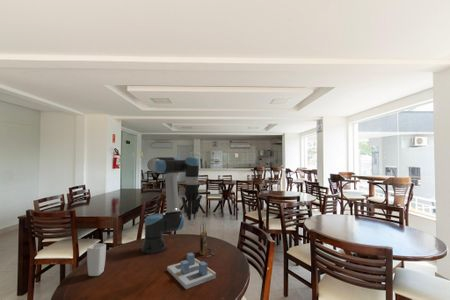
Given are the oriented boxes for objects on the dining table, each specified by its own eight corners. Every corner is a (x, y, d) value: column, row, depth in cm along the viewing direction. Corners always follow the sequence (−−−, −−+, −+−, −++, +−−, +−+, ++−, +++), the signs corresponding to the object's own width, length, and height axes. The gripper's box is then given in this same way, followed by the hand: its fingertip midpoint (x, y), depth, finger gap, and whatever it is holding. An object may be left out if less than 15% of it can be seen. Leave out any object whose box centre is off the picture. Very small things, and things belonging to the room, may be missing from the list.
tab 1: (180, 271, 119) (180, 261, 119) (185, 269, 120) (185, 259, 121) (183, 274, 115) (183, 264, 116) (189, 272, 117) (189, 262, 117)
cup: (84, 277, 116) (85, 248, 117) (94, 270, 124) (94, 243, 124) (98, 278, 116) (99, 248, 117) (106, 271, 123) (107, 243, 124)
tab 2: (186, 262, 129) (186, 253, 129) (191, 261, 130) (191, 252, 131) (189, 265, 125) (189, 256, 126) (194, 263, 127) (194, 254, 127)
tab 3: (198, 272, 117) (198, 262, 117) (203, 270, 119) (203, 261, 119) (202, 275, 114) (202, 265, 114) (207, 273, 116) (207, 263, 116)
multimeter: (213, 258, 138) (213, 226, 139) (197, 257, 140) (197, 225, 141) (218, 249, 153) (218, 220, 154) (204, 248, 155) (204, 219, 156)
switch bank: (167, 270, 124) (167, 265, 124) (194, 261, 134) (194, 257, 134) (186, 289, 106) (186, 283, 106) (215, 278, 116) (215, 272, 116)
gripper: (184, 185, 121) (183, 229, 121) (205, 183, 129) (204, 225, 128) (178, 183, 127) (177, 225, 127) (198, 182, 135) (197, 221, 134)
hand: (191, 225), depth 128 cm, fingers closed
